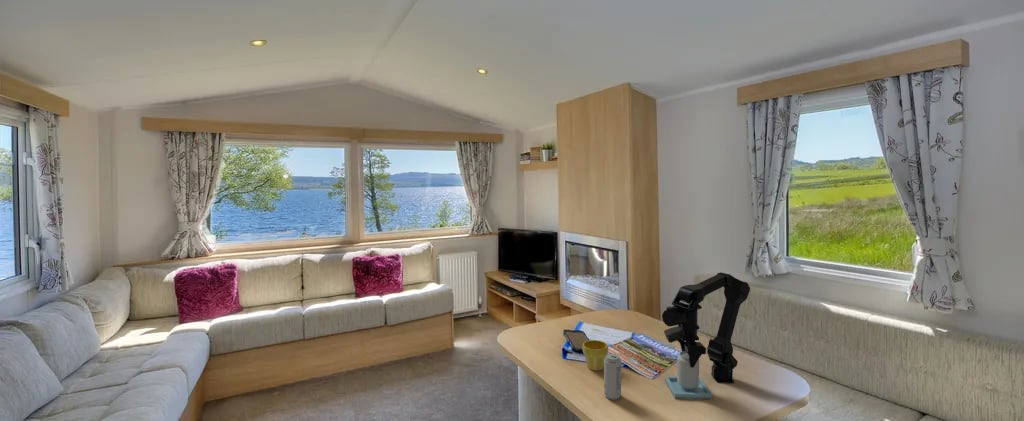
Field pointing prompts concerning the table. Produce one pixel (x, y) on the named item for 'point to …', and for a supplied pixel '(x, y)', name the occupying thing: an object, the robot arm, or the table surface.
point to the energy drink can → (612, 376)
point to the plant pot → (595, 354)
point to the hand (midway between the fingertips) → (688, 362)
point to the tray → (688, 390)
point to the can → (687, 372)
